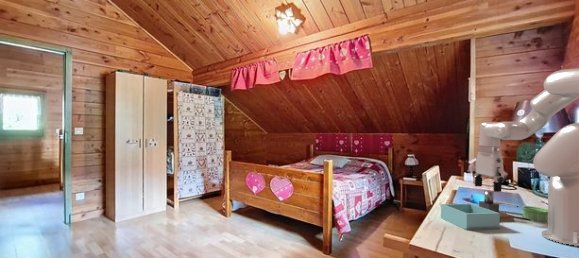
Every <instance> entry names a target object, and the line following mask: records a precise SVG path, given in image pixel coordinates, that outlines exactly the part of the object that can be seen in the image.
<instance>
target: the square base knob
mask: <svg viewBox="0 0 579 258" xmlns="http://www.w3.org/2000/svg"><path fill="white" fill-rule="evenodd" d="M483 196H484V197H483V198H484V199H483V200H480V201H478V206H479V207H482V208H485V209H488V210H491V211H494V212H497V213H499V211H500V205H499V204H497V203H494V202H493V200H494V196H495V195H494V191H492V190H486V189H485V190H484V195H483Z"/></svg>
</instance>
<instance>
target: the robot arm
mask: <svg viewBox="0 0 579 258" xmlns="http://www.w3.org/2000/svg"><path fill="white" fill-rule="evenodd" d="M543 89H544V90H542V91H541V92H540V93H538V94H537V95H535V96H534V97H532V99H531V100H530V102H529V104H530V107H531V108H532V109H531V111H530V112H529V113H528V114H527V115H525V116H524V117H522V118H521V119H520V120H518V121H498V122H497V121H484V122H481V123H479V134H478V135H479V136H478V137H479V138H478V152H477V156H476V160H475V164H474V165H472V166H471V171H472V175H473V177H474V186H475V187H482V186H483V176H486V177H490V178H493V180H494V182H493V187H492V188H493V192H495V193H501V192H502V185H503V184H502V183H504V182H505V180H507V177H508V175H509V174H508V173H507V172H506V171H505V170H504V161H503V156H502V155H503V154H501V152H502V148H501V140H503V141H511V140H512V141H513V140H514V141H518V140H519V141H521V140H525V139H527V138H529V137H531V136H532V135H534V134H535V133H537V132H539V131H540V130H542V129H543V128H545V126H546V125H547V124H548V123H549V121H550V120H551V119H552V117H553V116H554V115H555V114H557V113H558V112H560V111H561V110H563V109H564V108H566V107H567V106H569V105H570V104H572V103H573V102H575V101H577V100H579V67H577V68H567V69H560V70H556V71H554V72H552V73H550V74H549V75H548V76H547V77H546V78H545V80H544V81H543ZM532 161H533V167H534V169H535V171H537V173H539V174H540V175H542V176H545V177H548V178H549V181H548V188H547V189H548V191H547V209H548V221H547V230H542V231H541V236H542V235H543V236H544V238H545V239H547V240H549V239H550V241H552V240H553V242H555V241H556V243H558V242H559V244H562V243H563V245H566V244H569V245H568V246H570V245H574V246H573V247H577V246H579V122H576V123H575V122H574V123H570V124H567V125H565V126H563V127H562V128H560V129H559V130H558V131H557V132H556V133H555V134H553V136H552V137H550V139H549V140H548V141H546V143H545V144H544V145H543V146H541V148H540V149H539V150H538V151H537V152H536V154H535V156H534V157H533V160H532ZM543 236H542V237H543Z"/></svg>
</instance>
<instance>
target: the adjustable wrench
mask: <svg viewBox="0 0 579 258" xmlns="http://www.w3.org/2000/svg"><path fill="white" fill-rule="evenodd" d="M493 202H494V203H497V204H507V205H517V206H519V205H520V204H515V203H510V202H505V201H500V200H496V199H495V200H494V199H493ZM523 206H525V205H524V204H523ZM546 209H547V210H548V208H546Z"/></svg>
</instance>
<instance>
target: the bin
mask: <svg viewBox="0 0 579 258" xmlns="http://www.w3.org/2000/svg"><path fill="white" fill-rule="evenodd" d="M440 219H442V220H444V221H446V222H448V223H449V224H450V223H451V224H453V225H454V226H456V227H458V228H461V229H463V230H465V231H477V230H478V231H479V230H480V231H481V230H484V231H485V230H500V223H501V221H500V213H497V212H494V211H491V210H488V209H485V208H482V207H479V205H476V204H473V203H441V204H440Z"/></svg>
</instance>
